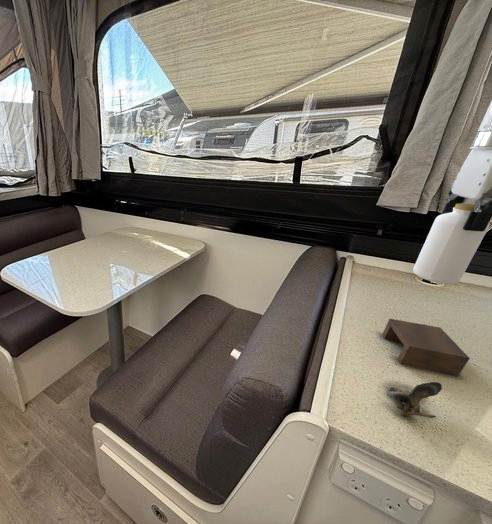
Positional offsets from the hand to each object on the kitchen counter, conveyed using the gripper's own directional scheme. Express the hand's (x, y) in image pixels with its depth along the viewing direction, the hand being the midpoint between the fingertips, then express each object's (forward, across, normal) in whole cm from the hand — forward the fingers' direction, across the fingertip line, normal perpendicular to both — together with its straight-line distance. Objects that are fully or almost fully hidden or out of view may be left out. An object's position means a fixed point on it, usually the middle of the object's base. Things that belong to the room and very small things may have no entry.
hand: (459, 224), depth 61 cm
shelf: (+30, -11, +2) cm, 32 cm away
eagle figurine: (+30, -29, +10) cm, 43 cm away
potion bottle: (+14, 0, 0) cm, 14 cm away
